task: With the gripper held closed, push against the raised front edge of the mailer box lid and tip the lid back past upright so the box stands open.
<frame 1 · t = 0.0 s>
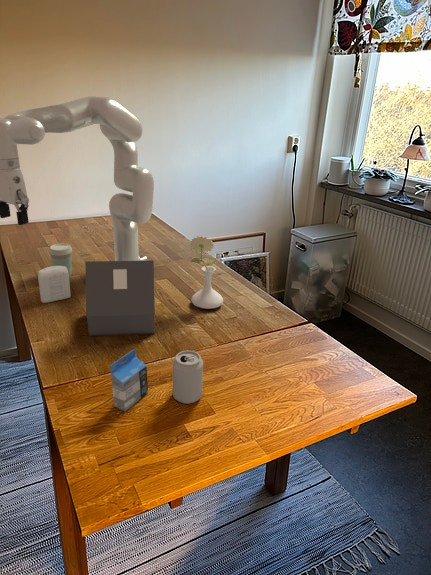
hand: (14, 220, 139), 31 cm above the table, tool pointing down, fingers open, 9 cm apart
mailer box: (123, 322, 148), on the table
photo printer: (56, 299, 161), on the table
flower in vase: (205, 304, 162), on the table
label tape box: (131, 400, 114), on the table
coffee cup: (63, 275, 179), on the table
mailer lid: (120, 288, 138), point 14 cm above the table, hinge at 60.0°
can: (187, 396, 116), on the table
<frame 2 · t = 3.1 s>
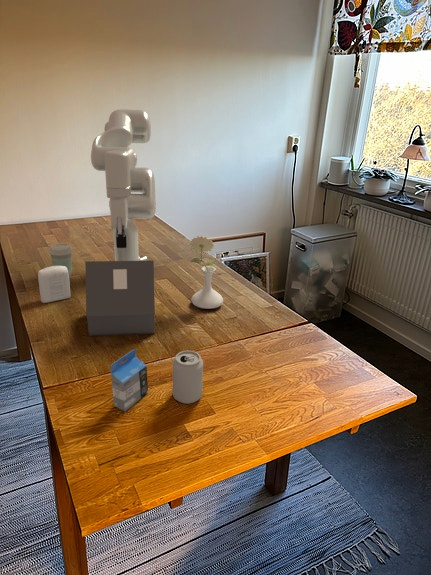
hand: (121, 247, 150), 21 cm above the table, tool pointing down, fingers closed
nothing on the table moved.
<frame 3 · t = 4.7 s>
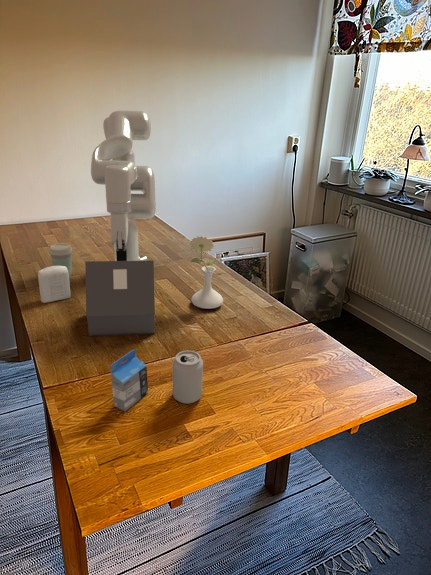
hand: (121, 260, 149), 18 cm above the table, tool pointing down, fingers closed
nothing on the table moved.
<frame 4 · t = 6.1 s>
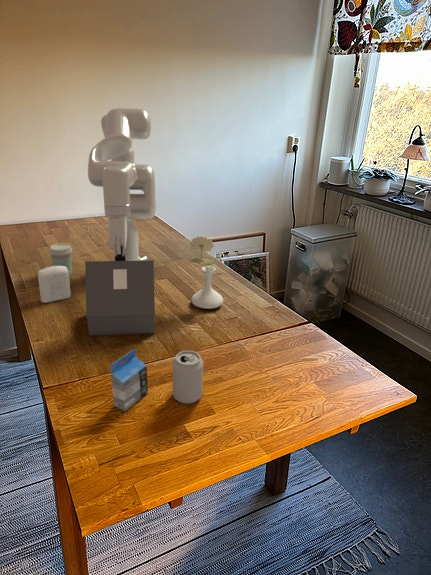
hand: (120, 266, 141), 19 cm above the table, tool pointing down, fingers closed
mailer lid: (120, 288, 138), point 14 cm above the table, hinge at 60.7°, touching gripper
everything else where it was.
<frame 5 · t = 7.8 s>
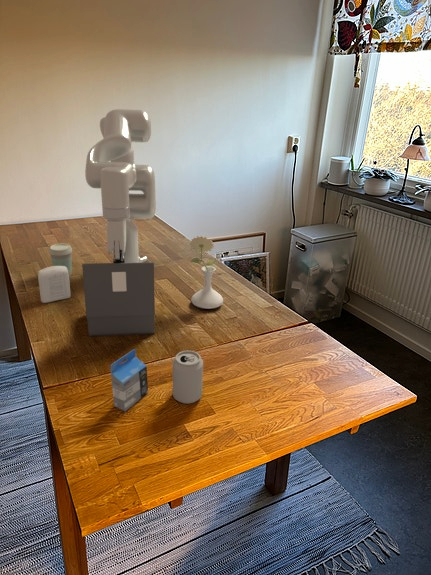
hand: (119, 271, 136), 20 cm above the table, tool pointing down, fingers closed
mailer lid: (119, 290, 134), point 15 cm above the table, hinge at 84.0°, touching gripper
everything else where it was.
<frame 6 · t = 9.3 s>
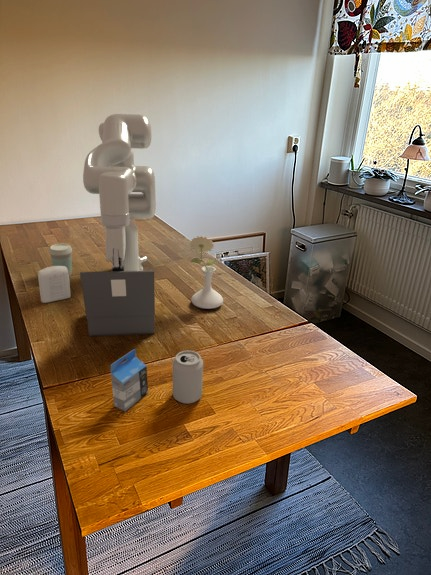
hand: (118, 280, 131), 19 cm above the table, tool pointing down, fingers closed
mailer lid: (119, 294, 132), point 15 cm above the table, hinge at 102.4°, touching gripper
everything else where it was.
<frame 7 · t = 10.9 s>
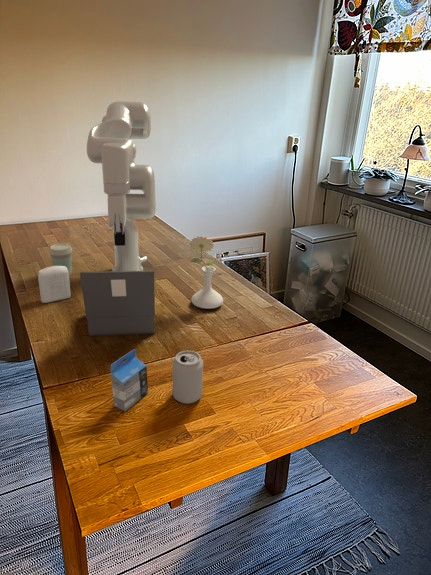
hand: (120, 244, 142), 25 cm above the table, tool pointing down, fingers closed
mailer lid: (119, 294, 132), point 15 cm above the table, hinge at 102.5°
everything else where it was.
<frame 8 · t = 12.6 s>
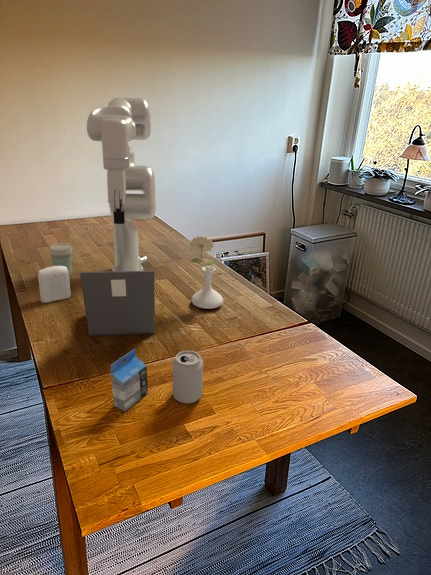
hand: (119, 222, 141), 31 cm above the table, tool pointing down, fingers closed
nothing on the table moved.
at the end: mailer lid at +102° (first picture: +60°) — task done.
